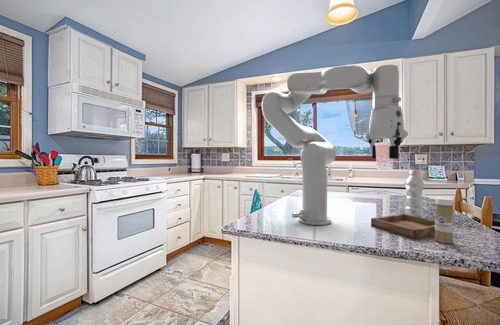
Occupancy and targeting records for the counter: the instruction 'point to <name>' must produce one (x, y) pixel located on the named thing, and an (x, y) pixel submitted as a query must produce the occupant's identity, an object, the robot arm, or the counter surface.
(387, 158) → the beverage cup
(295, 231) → the counter surface
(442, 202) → the sprinkles bottle
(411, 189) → the plastic bottle
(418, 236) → the walnut tray
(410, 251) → the counter surface
